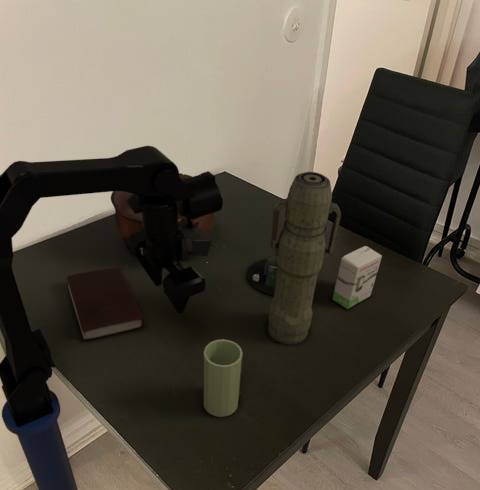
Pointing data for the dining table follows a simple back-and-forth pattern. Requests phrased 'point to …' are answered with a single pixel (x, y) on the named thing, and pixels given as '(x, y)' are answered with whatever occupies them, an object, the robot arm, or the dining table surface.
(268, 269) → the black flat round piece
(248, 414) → the dining table surface
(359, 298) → the ink box
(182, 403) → the dining table surface
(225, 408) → the pencil cup
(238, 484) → the dining table surface
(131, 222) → the bowl
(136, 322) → the book
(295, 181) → the thermos
